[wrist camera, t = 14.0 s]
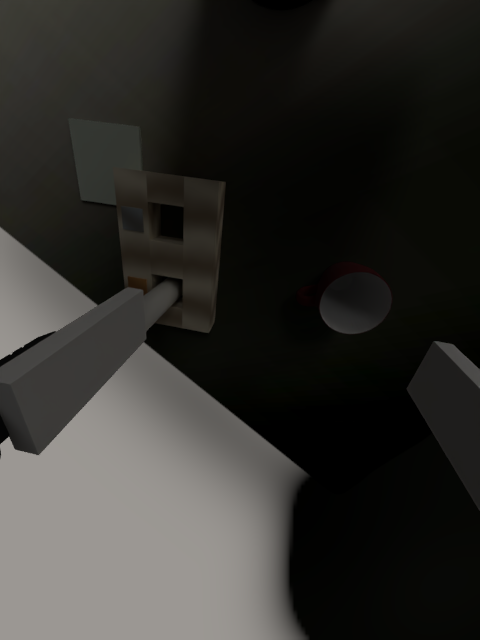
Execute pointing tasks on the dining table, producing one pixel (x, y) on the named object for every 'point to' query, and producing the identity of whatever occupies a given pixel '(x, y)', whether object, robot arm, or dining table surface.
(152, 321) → the plug
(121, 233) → the socket block
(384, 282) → the mug
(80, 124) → the pad
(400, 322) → the dining table surface
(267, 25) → the dining table surface
